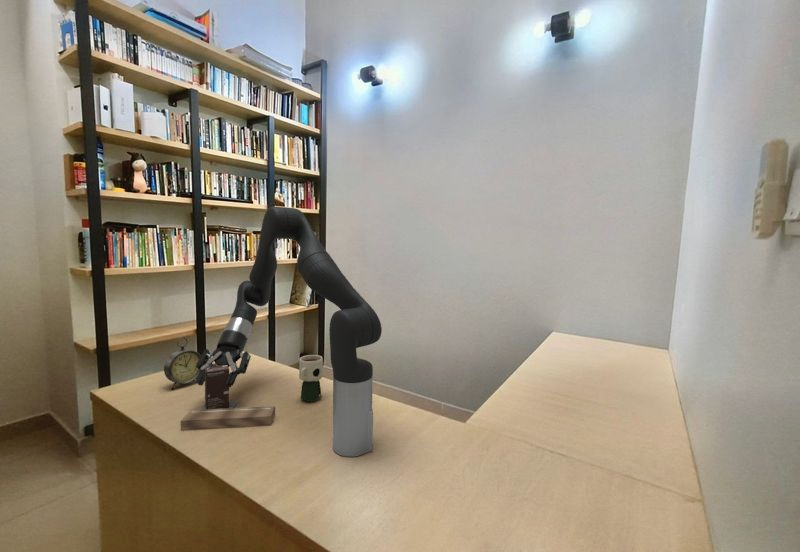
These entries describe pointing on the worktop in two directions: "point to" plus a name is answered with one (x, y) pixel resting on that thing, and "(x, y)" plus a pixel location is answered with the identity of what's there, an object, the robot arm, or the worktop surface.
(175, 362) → the alarm clock
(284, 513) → the worktop surface
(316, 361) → the character mug
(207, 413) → the walnut board
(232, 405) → the grey mat
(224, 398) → the box
